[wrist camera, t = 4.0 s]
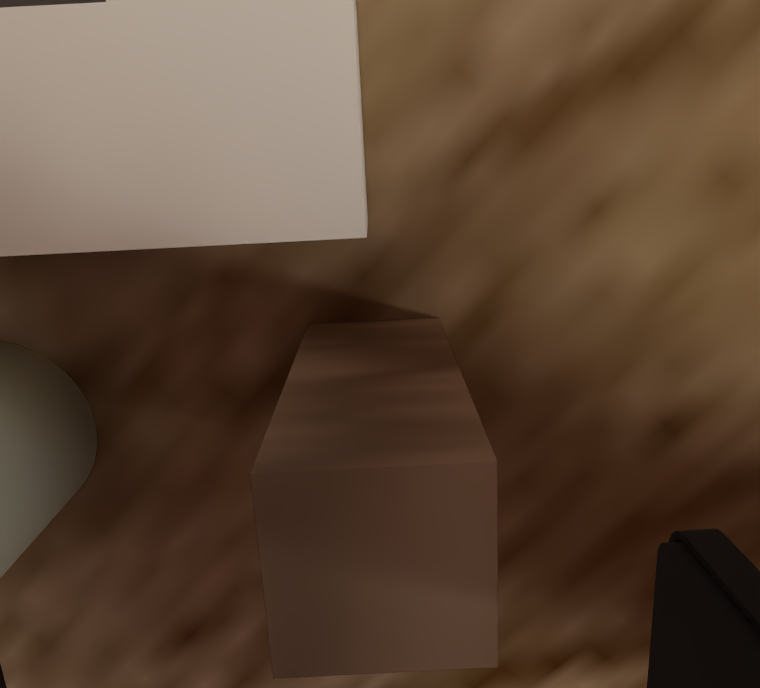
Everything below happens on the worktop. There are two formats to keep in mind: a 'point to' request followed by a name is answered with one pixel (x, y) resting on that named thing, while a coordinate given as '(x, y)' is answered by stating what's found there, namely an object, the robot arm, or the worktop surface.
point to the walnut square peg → (377, 508)
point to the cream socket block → (178, 124)
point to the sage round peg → (38, 446)
